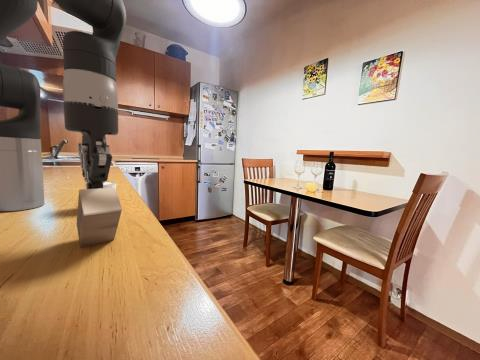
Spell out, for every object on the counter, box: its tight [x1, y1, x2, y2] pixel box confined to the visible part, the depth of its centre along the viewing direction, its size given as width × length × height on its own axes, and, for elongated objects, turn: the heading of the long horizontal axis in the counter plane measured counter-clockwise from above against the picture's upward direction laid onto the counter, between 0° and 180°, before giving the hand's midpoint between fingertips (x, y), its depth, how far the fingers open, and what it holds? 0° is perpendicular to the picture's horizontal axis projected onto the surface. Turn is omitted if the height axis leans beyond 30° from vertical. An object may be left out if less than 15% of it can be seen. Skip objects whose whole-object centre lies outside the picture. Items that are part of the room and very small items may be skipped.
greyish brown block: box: [76, 187, 123, 248], centre depth 35 cm, size 5×5×9 cm
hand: (95, 202), depth 37 cm, fingers closed
